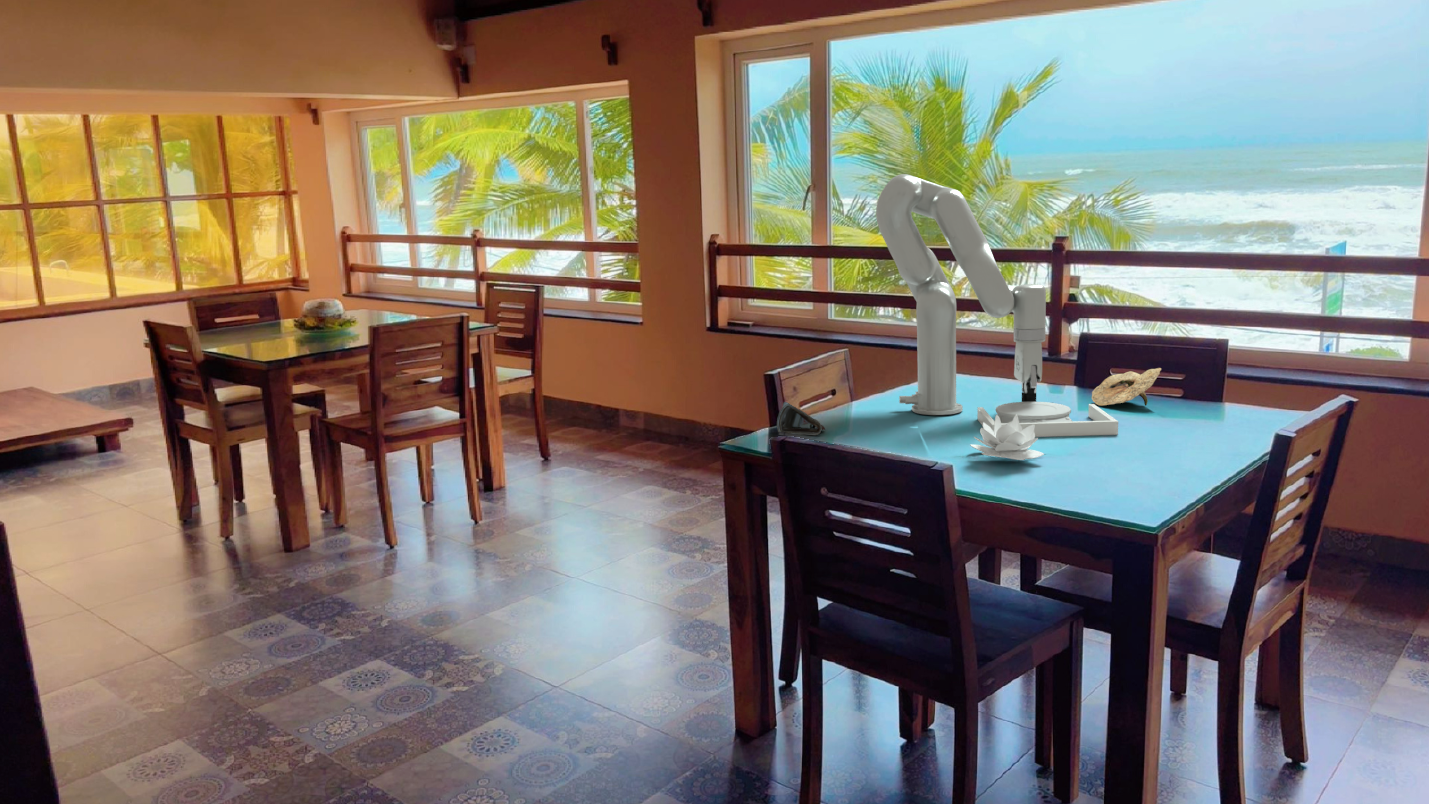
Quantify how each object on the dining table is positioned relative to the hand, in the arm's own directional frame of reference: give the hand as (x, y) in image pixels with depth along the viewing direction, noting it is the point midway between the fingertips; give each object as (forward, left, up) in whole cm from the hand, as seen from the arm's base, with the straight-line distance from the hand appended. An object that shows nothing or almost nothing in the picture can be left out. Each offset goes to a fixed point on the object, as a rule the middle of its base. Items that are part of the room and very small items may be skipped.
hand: (1028, 408), depth 263 cm
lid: (-1, -12, -1) cm, 12 cm away
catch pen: (0, -17, -1) cm, 17 cm away
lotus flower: (-14, -44, -1) cm, 46 cm away
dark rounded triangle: (-53, -20, -3) cm, 56 cm away
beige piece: (+27, +5, -2) cm, 27 cm away
